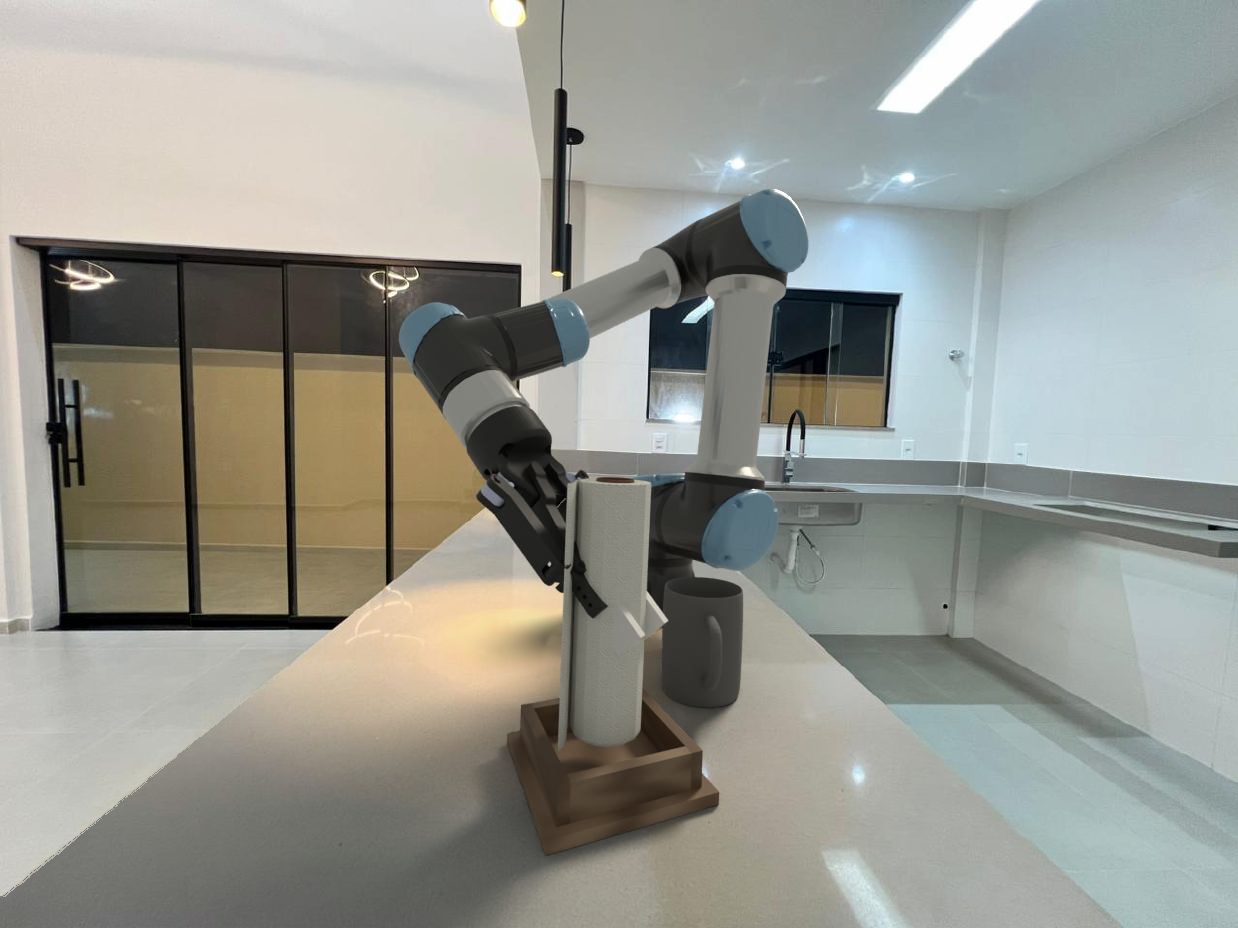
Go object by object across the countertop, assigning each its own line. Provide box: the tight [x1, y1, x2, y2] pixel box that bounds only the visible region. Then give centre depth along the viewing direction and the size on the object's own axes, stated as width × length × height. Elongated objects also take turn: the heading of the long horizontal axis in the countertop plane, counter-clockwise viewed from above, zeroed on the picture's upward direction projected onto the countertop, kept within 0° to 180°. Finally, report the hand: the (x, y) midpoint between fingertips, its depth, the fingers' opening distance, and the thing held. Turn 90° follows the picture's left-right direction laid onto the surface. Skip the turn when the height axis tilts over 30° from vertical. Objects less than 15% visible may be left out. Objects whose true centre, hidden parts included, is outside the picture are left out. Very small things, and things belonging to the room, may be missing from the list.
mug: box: [661, 576, 744, 709], centre depth 57 cm, size 14×9×12 cm
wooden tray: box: [506, 687, 720, 856], centre depth 44 cm, size 14×14×4 cm
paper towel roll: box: [558, 476, 651, 751], centre depth 43 cm, size 7×6×21 cm
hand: (644, 637), depth 42 cm, fingers closed on paper towel roll, 3 cm apart
